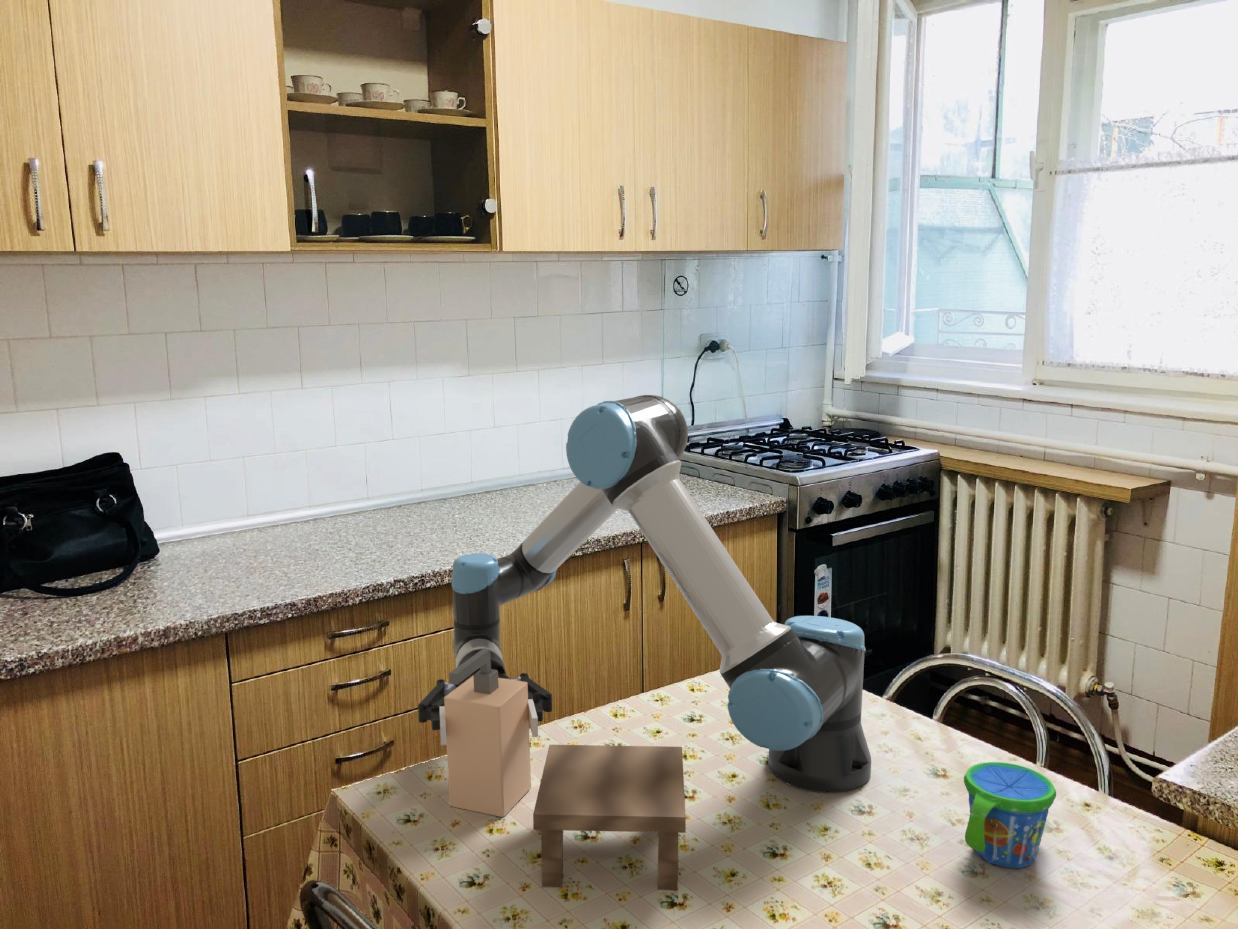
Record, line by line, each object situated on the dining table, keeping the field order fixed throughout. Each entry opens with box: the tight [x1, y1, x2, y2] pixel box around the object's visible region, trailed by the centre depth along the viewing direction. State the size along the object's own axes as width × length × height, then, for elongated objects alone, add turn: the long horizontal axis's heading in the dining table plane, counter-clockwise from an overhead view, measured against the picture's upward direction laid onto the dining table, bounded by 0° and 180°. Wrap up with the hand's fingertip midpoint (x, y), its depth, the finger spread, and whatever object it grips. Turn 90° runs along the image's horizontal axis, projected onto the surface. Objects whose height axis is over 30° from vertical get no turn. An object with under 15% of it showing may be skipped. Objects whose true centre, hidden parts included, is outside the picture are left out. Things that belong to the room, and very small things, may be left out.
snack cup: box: [963, 761, 1057, 869], centre depth 126 cm, size 16×10×10 cm
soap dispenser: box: [444, 649, 532, 818], centre depth 137 cm, size 13×9×22 cm
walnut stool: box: [532, 744, 687, 891], centre depth 127 cm, size 18×18×10 cm
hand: (489, 731), depth 134 cm, fingers closed on soap dispenser, 12 cm apart
